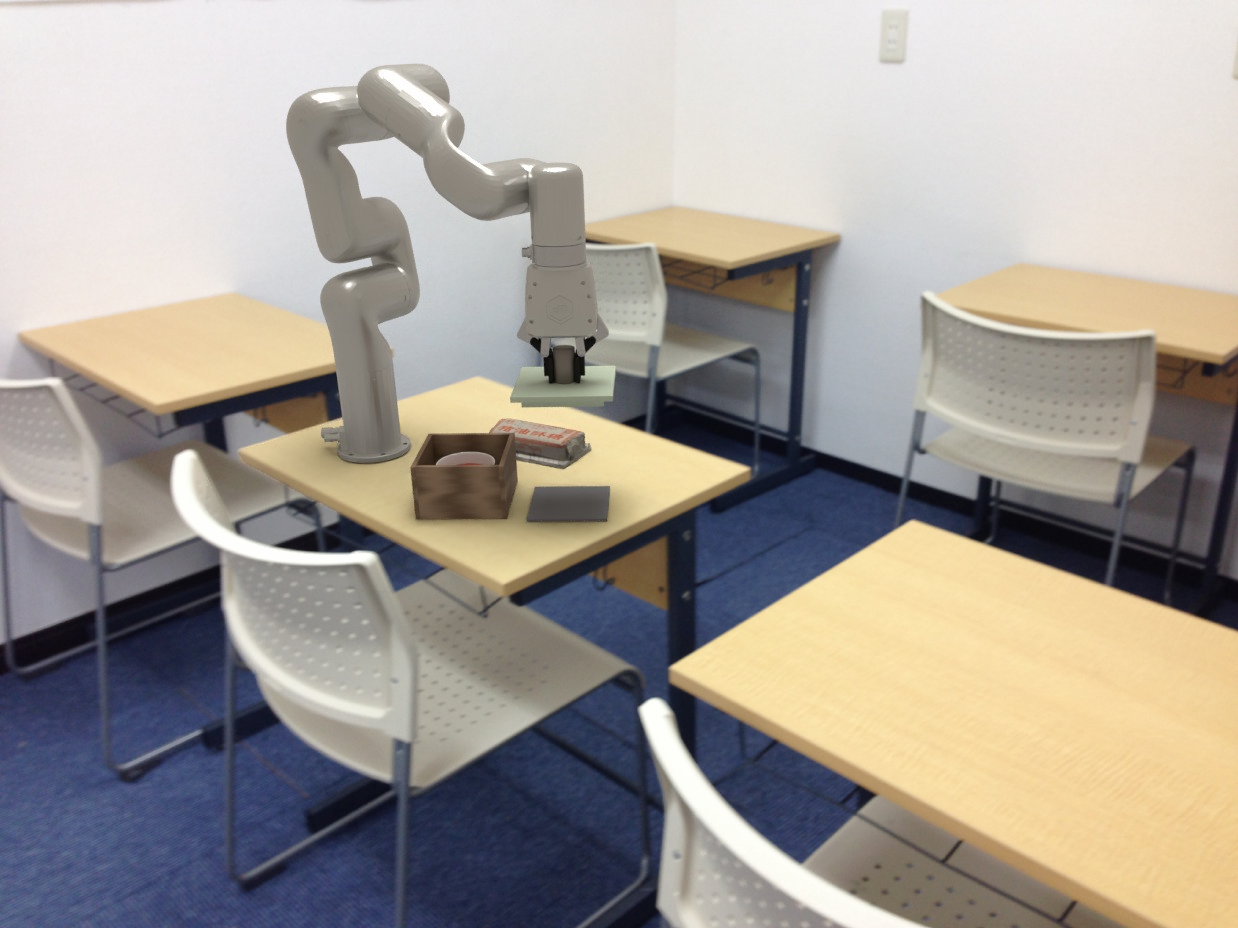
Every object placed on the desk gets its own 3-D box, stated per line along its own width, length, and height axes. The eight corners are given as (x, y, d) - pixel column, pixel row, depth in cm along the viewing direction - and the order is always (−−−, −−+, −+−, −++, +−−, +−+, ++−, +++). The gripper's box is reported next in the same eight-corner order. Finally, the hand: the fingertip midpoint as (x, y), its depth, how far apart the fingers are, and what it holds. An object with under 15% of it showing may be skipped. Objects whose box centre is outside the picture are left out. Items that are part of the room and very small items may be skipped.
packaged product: (592, 425, 180) (563, 445, 172) (593, 451, 182) (564, 472, 173) (505, 410, 188) (473, 428, 179) (506, 435, 189) (475, 454, 181)
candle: (467, 517, 157) (464, 479, 155) (427, 502, 162) (423, 465, 160) (509, 497, 163) (507, 460, 161) (469, 483, 169) (466, 447, 166)
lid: (510, 410, 147) (507, 363, 144) (522, 379, 160) (519, 335, 158) (612, 409, 146) (611, 361, 144) (616, 378, 160) (614, 333, 157)
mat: (526, 521, 155) (526, 519, 155) (535, 488, 166) (534, 486, 166) (607, 521, 155) (607, 518, 155) (610, 488, 166) (610, 485, 166)
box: (415, 519, 157) (410, 467, 153) (433, 482, 169) (428, 433, 166) (506, 518, 156) (503, 466, 153) (517, 481, 169) (514, 432, 166)
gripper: (497, 262, 142) (506, 389, 149) (617, 259, 142) (620, 387, 149) (504, 251, 149) (512, 373, 156) (618, 249, 149) (621, 372, 156)
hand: (565, 379), depth 153 cm, fingers closed on lid, 3 cm apart
